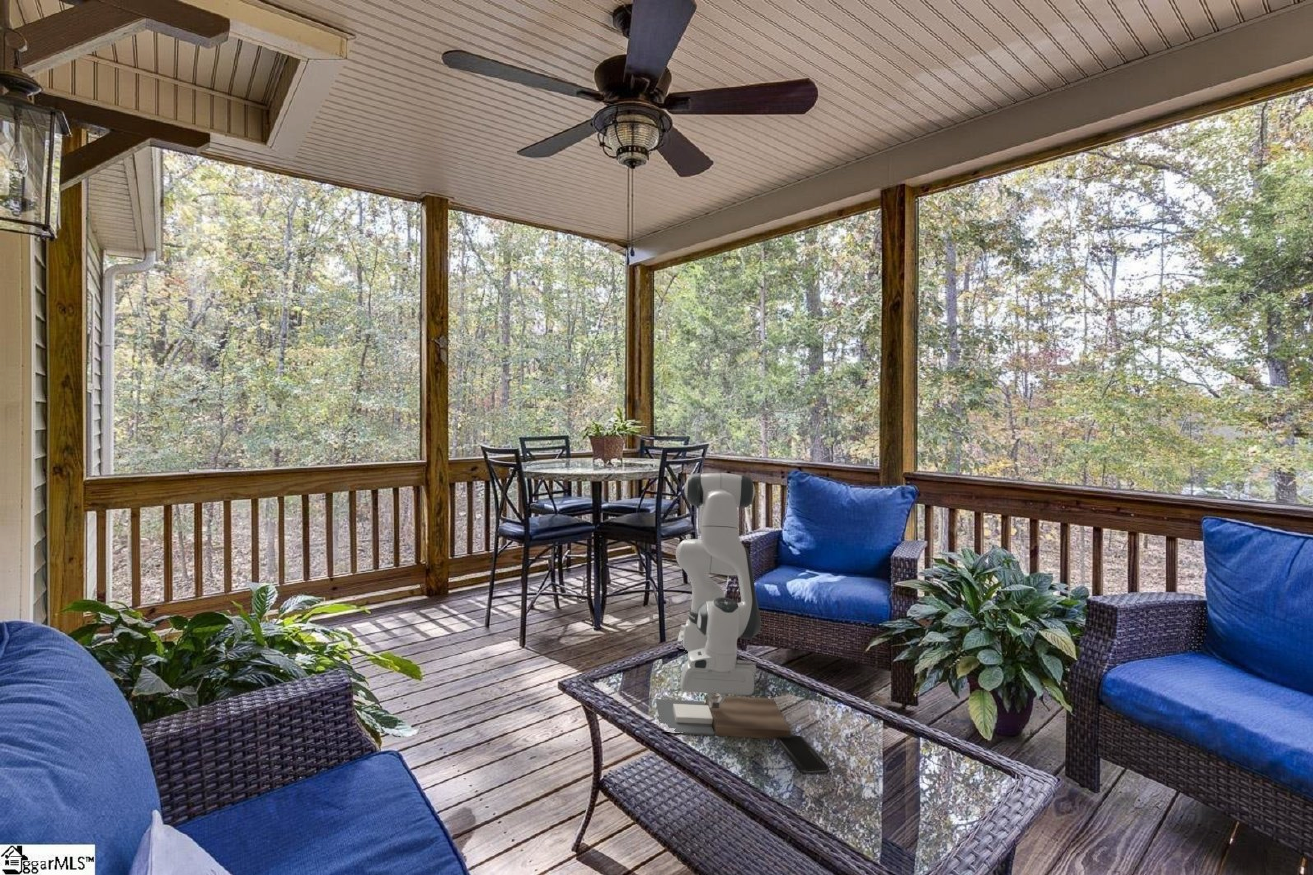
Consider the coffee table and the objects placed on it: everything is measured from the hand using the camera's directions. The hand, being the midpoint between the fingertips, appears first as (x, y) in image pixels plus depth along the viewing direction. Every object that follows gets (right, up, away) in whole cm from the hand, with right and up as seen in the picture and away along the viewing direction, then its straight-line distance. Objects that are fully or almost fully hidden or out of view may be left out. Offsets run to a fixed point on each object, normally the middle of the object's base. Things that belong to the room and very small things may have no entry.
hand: (714, 707), depth 168 cm
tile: (-6, -2, -1) cm, 7 cm away
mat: (-9, -3, 0) cm, 9 cm away
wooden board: (+9, -4, +1) cm, 10 cm away
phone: (+21, -7, -13) cm, 26 cm away
